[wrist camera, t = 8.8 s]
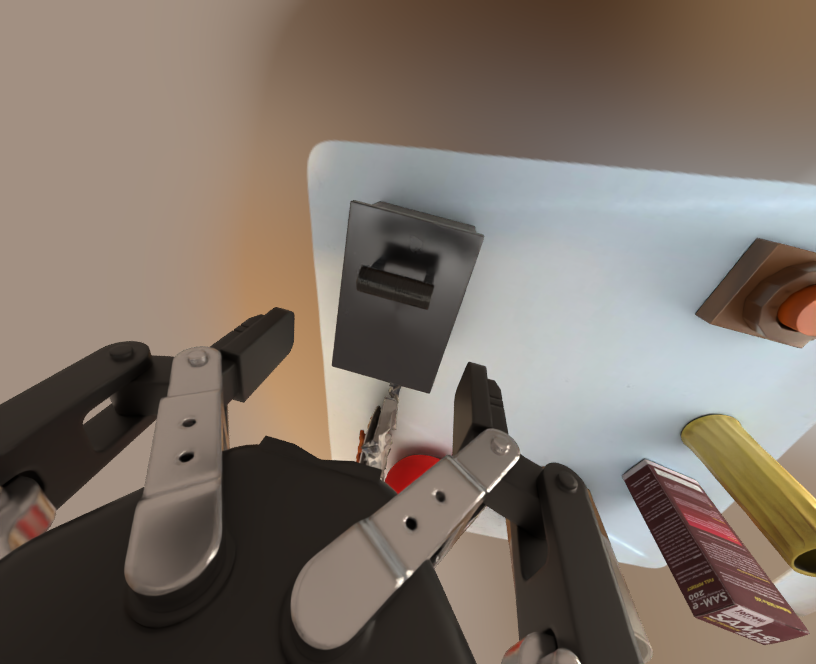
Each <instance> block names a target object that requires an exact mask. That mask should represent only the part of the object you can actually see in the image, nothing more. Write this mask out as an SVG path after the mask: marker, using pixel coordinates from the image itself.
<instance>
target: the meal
mask: <svg viewBox="0 0 816 664" xmlns="http://www.w3.org/2000/svg"><path fill="white" fill-rule="evenodd" d="M389 386H391V388H390V389H389V394H390V396H391V398H390V397H385V400H384V403H383V407H382V410H381V408H380V406H377V407H376V409H375V411H374V413H373V415H372V417H371V418H370V419H371V421H370V422H369V424H368V430H367V433H366V434H365V433H364V430H361V431H360V437H359V439H360V443H359V446H358V453H357V456H356V459H357V461H356V462H358V463H361V464H365V465H368V466H372V467H375V468H378V469H382V473H381V477H380V478H382V481H384V470H385V469H386V464H387V456H388V454H389V452H390V450H391V448H390V446H391V444H392V441H391V435H390V434H387V433H388V431H389V430H391V429H392V430H396V418H397V410H398V403H399V402H398V401H399V399H398V396H399V391H400V388H401V386H400V385H397V384H393V383H390V385H389ZM389 448H390V449H389Z"/></svg>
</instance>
